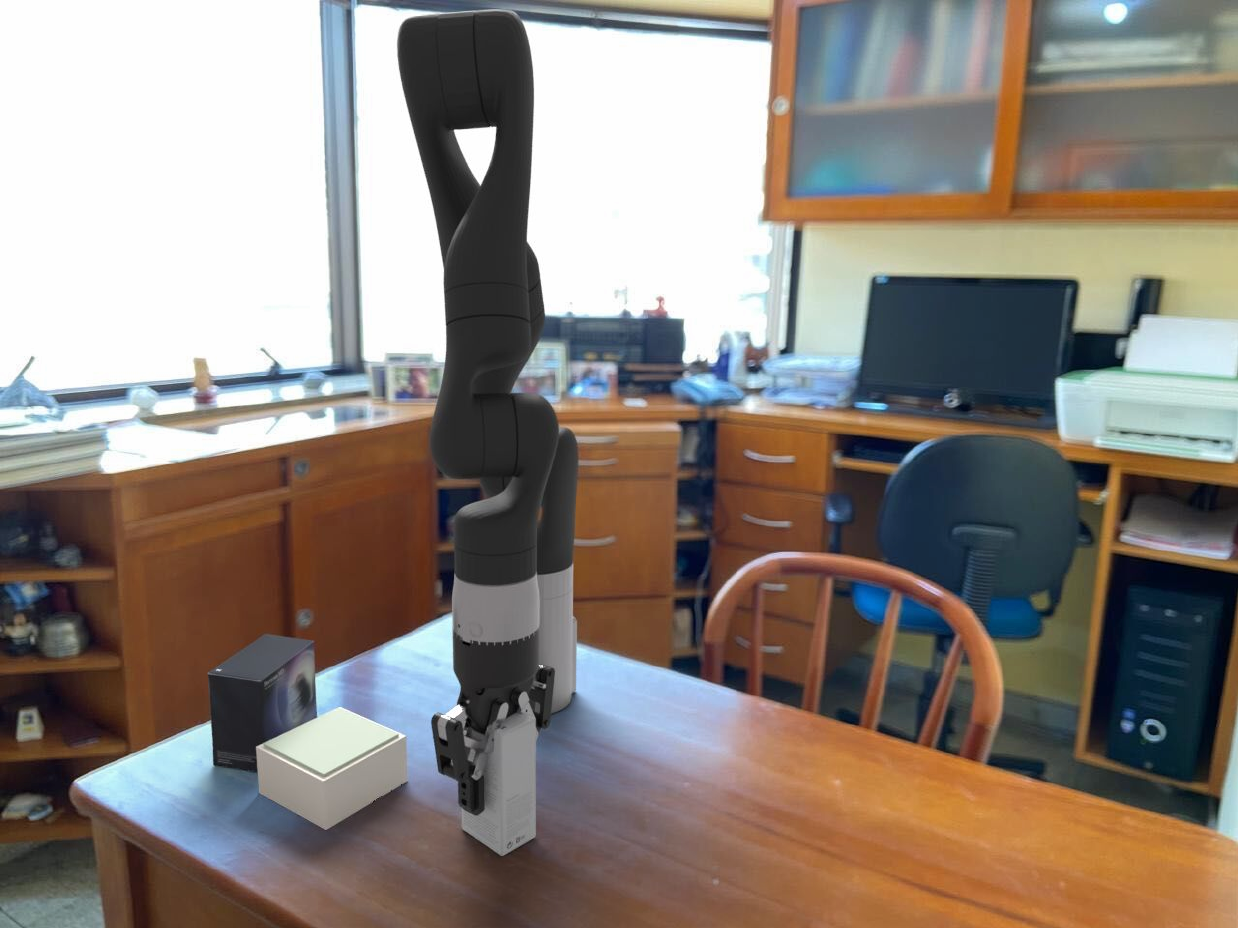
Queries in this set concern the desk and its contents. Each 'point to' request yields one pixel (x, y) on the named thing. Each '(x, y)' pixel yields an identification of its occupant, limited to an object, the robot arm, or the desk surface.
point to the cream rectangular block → (332, 766)
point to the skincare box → (507, 787)
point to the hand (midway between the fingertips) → (497, 793)
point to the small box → (260, 697)
